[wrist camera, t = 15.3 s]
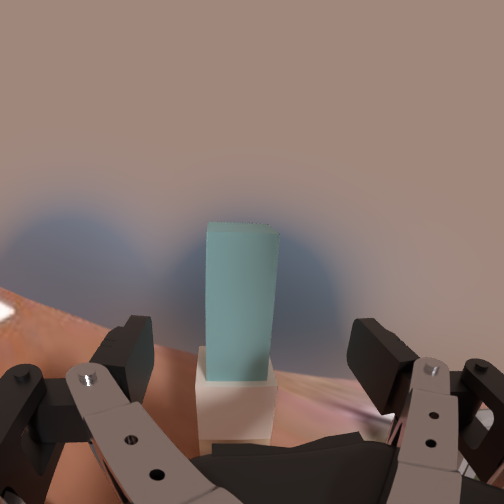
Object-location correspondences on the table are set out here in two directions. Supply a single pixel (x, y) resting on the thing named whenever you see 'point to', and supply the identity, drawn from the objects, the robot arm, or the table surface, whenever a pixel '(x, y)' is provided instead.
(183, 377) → the table surface
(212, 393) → the cream cube
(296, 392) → the table surface
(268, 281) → the teal post
